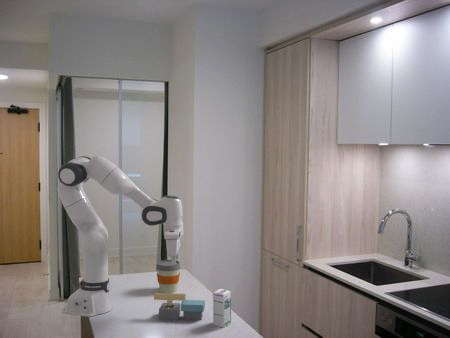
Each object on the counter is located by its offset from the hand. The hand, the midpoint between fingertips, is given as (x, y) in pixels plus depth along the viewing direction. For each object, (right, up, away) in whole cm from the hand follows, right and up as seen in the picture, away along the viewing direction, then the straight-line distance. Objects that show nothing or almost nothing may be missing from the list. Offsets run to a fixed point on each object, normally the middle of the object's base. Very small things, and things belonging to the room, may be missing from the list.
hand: (174, 261), depth 206 cm
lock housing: (+3, -25, -2) cm, 25 cm away
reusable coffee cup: (-7, -23, +35) cm, 42 cm away
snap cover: (+8, -21, -3) cm, 22 cm away
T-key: (-2, -25, -2) cm, 25 cm away
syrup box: (+21, -25, -10) cm, 34 cm away
